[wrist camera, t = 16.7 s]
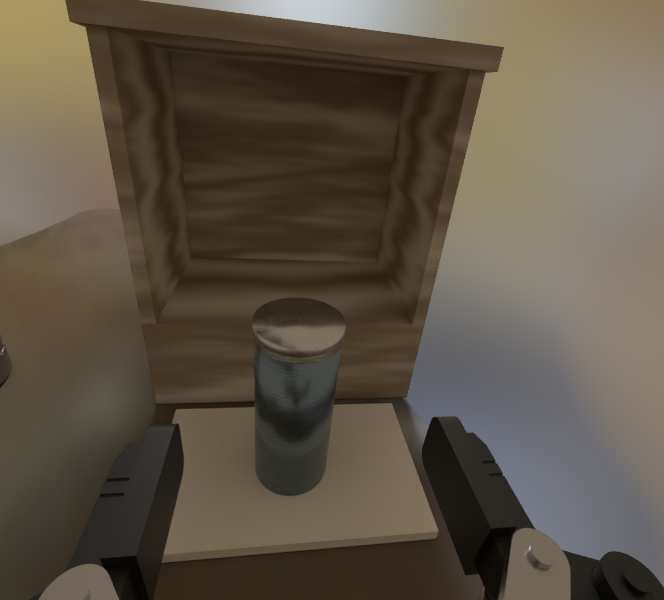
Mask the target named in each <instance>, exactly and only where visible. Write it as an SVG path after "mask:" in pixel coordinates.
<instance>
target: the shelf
mask: <svg viewBox="0 0 664 600" xmlns="http://www.w3.org/2000/svg"><path fill="white" fill-rule="evenodd" d="M65 1H66V5H67V10H68V15H69V20H70V22H73V23H76V24H79V25H82V26H85V27H86V31H87V36H88V41H89V47H90V52H91V57H92V63H93V68H94V73H95V79H96V83H97V89H98V94H99V100H100V105H101V111H102V116H103V121H104V126H105V132H106V137H107V143H108V147H109V153H110V159H111V164H112V169H113V175H114V180H115V185H116V190H117V195H118V201H119V206H120V212H121V217H122V223H123V228H124V233H125V239H126V244H127V249H128V255H129V260H130V265H131V271H132V276H133V281H134V287H135V292H136V297H137V303H138V308H139V313H140V318H141V324H142V329H143V334H144V340H145V345H146V350H147V356H148V361H149V366H150V372H151V377H152V382H153V388H154V393H155V398H156V404H168V403H206V402H244V401H255V397H254V342H253V339H252V317H253V314H254V313H255V311H256V310H257V309H258V308H259V307H261V306H262V305H264V304H266V303H268V302H271V301H274V300H278V299H283V298H295V297H296V298H309V299H314V300H318V301H322V302H324V303H327V304H329V305H331V306H333V307H334V308H336V309H337V310H338V311H339V312H340V313H341V314H342V315H343V316H344V318H345V321H346V328H345V335H344V342H343V345H342V347H341V353H340V361H339V368H338V376H337V384H336V392H335V399H358V398H396V397H407V394H408V390H409V385H410V381H411V377H412V373H413V369H414V365H415V361H416V357H417V352H418V348H419V344H420V340H421V336H422V332H423V328H424V324H425V319H426V315H427V311H428V307H429V303H430V299H431V294H432V291H433V286H434V282H435V278H436V274H437V270H438V266H439V262H440V258H441V253H442V249H443V245H444V241H445V237H446V233H447V228H448V225H449V220H450V216H451V212H452V208H453V204H454V200H455V196H456V191H457V187H458V183H459V179H460V175H461V171H462V166H463V162H464V159H465V154H466V150H467V146H468V142H469V138H470V133H471V130H472V126H473V122H474V117H475V113H476V109H477V105H478V101H479V97H480V93H481V88H482V84H483V80H484V76H485V73H490V72H497V71H498V69H499V64H500V61H501V57H502V53H503V49H504V47H498V46H489V45H482V44H474V43H466V42H459V41H451V40H444V39H436V38H428V37H420V36H412V35H405V34H396V33H389V32H381V31H374V30H366V29H358V28H351V27H343V26H335V25H327V24H320V23H312V22H304V21H296V20H288V19H281V18H273V17H265V16H257V15H250V14H242V13H234V12H225V11H219V10H210V9H203V8H195V7H188V6H180V5H171V4H164V3H156V2H149V1H141V0H65Z"/></svg>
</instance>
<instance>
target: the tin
mask: <svg viewBox="0 0 664 600" xmlns="http://www.w3.org/2000/svg"><path fill="white" fill-rule="evenodd" d="M345 328H346V321H345V318H344V316H343V315H342V314H341V313H340V312H339V311H338V310H337V309H336V308H334V307H333V306H331V305H329V304H327V303H324V302H322V301H318V300H314V299H309V298H296V297H295V298H283V299H278V300H274V301H271V302H268V303H266V304H264V305H262V306H261V307H259V308H258V309H257V310H256V311H255V313H254V314H253V317H252V339H253V342H254V397H255V470H256V474H257V477H258V479H259V481H260V482H261V483H262V485H263V486H264V487H265V488H267V489H268V490H270V491H271V492H273V493H276V494H279V495H283V496H296V495H301V494H304V493H306V492H308V491H310V490H312V489H313V488H314V487H316V486H317V485H318V484H319V482H320V481H321V480H322V478H323V476H324V473H325V469H326V463H327V455H328V447H329V439H330V431H331V423H332V415H333V408H334V400H335V392H336V384H337V376H338V368H339V361H340V353H341V347H342V345H343V342H344V335H345Z"/></svg>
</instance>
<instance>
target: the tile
mask: <svg viewBox="0 0 664 600" xmlns="http://www.w3.org/2000/svg"><path fill="white" fill-rule="evenodd" d="M175 423H178V424H179V427H180V433H181V440H182V447H183V453H184V469H183V476H182V481H181V485H180V489H179V493H178V497H177V501H176V505H175V509H174V513H173V518H172V522H171V526H170V530H169V534H168V538H167V542H166V546H165V550H164V555H163V559H162V563H165V562H176V561H188V560H199V559H210V558H222V557H233V556H245V555H256V554H267V553H279V552H290V551H301V550H313V549H324V548H335V547H347V546H358V545H370V544H381V543H392V542H404V541H415V540H426V539H436V537H437V534H438V532H439V531H438V528H437V525H436V523H435V520H434V517H433V514H432V512H431V509H430V506H429V504H428V501H427V498H426V495H425V493H424V490H423V487H422V484H421V482H420V479H419V476H418V474H417V471H416V468H415V465H414V463H413V460H412V457H411V454H410V452H409V449H408V446H407V444H406V441H405V438H404V435H403V433H402V430H401V427H400V424H399V422H398V419H397V416H396V414H395V411H394V408H393V405H392V403H379V404H344V405H334V408H333V415H332V423H331V431H330V439H329V447H328V455H327V463H326V469H325V473H324V476H323V478H322V480H321V481H320V482H319V484H318V485H317V486H316V487H314V488H313V489H312V490H310V491H308V492H306V493H304V494H301V495H296V496H283V495H279V494H276V493H273V492H271V491H270V490H268V489H267V488H265V487H264V486H263V485H262V483H261V482H260V481H259V479H258V477H257V474H256V470H255V407H239V408H204V409H176V411H175V415H174V418H173V421H172V424H175Z"/></svg>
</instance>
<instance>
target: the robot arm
mask: <svg viewBox="0 0 664 600" xmlns="http://www.w3.org/2000/svg"><path fill="white" fill-rule="evenodd" d="M11 367H12V365H11V360H10V358H9V355H8V353H7V350H6V346H5V344H4V341H3V340H2V338H1V336H0V385H1V384H2V383H3V382H4V381H5V379H6V378H7V376H8V375H9V373H10V371H11ZM422 460H423V465H424V468H425V470H426V473H427V476H428V478H429V481H430V484H431V486H432V489H433V491H434V494H435V497H436V499H437V502H438V504H439V507H440V510H441V512H442V515H443V518H444V520H445V523H446V525H447V528H448V531H449V533H450V536H451V539H452V541H453V544H454V546H455V549H456V552H457V554H458V557H459V559H460V562H461V565H462V567H463V570H464V573H465V575H472V574H479V575H480V577H481V580H482V582H483V586H482V589H481V593H480V598H479V600H664V587H663V586H662V585H661V583H660V582H659V581H658V579H657V578H656V577H655V575H654V574H653V573H652V572H651V571H650V570H649V569H648V568H646V567H645V566H644V565H643V564H642V563H641V562H639V561H638V560H636V559H635V558H633V557H631V556H629V555H627V554H624V553H621V552H615V551H613V552H608V553H606V554H605V555H604V556H603V557H602V558H601V560H600V561H599V560H595V559H592V558H588V557H585V556H581V555H577V554H574V553H570V552H567V551H564V550H562V549H561V548H560V547H559V546H558V545H557V543H556V542H555V541H553V540H552V539H551V538H550V537H549V536H547V535H546V534H544V533H542V532H540V531H538V530H536V529H535V528H534V526H533V525H532V523H531V521H530V520H529V518H528V516H527V515H526V513H525V511H524V510H523V508H522V506H521V504H520V502H519V501H518V499H517V497H516V496H515V494H514V492H513V490H512V489H511V487H510V485H509V484H508V482H507V480H506V478H505V477H504V476H503V475H502V471H501V470H500V468H499V466H498V464H496V463H495V459H494V457H493V456H492V454H491V452H490V450H489V449H488V447H487V445H486V444H484V442H482V441H481V440H480V439H479V438H478V437H477V436H476V435H475V434H474V433H466V431H465V429H464V427H463V425H462V423H461V422H460V420H459V419H458V418H457V417H455V416H454V417H433V418H432V420H431V422H430V425H429V428H428V431H427V435H426V438H425V441H424V444H423V447H422ZM183 469H184V453H183V447H182V440H181V433H180V427H179V424H178V423H175V424H151V425H150V427H149V429H148V431H147V434H146V436H145V439H144V442H143V444H129V445H128V446H127V447H126V448H125V449H124V451H123V452H122V453H121V454H120V455H119V456H118V457H117V458H116V459H115V461H114V463H113V465H112V468H111V470H110V472H109V475H108V477H107V481H106V482H105V484H104V486H103V488H102V491H101V493H100V497H99V498H98V500H97V502H96V504H95V507H94V509H93V511H92V514H91V516H90V518H89V521H88V523H87V525H86V528H85V530H84V532H83V534H82V537H81V539H80V541H79V544H78V546H77V548H76V551H75V553H74V555H73V557H72V559H71V561H70V563H69V565H68V566H67V568H66V569H65V571H64V572H63V573H62V574H61V575H60V576H59V577H57V578H56V579H55V580H54V581H53V582H52V583H51V584H50V585H49V586H48V587H47V588H46V590H44V591H43V592H41V593H40V594H38V595H37V596H35V597H33V598H32V599H30V600H153V596H154V592H155V588H156V583H157V579H158V575H159V571H160V567H161V563H162V559H163V555H164V550H165V546H166V542H167V538H168V534H169V530H170V526H171V522H172V518H173V513H174V509H175V505H176V501H177V497H178V493H179V489H180V485H181V481H182V476H183Z"/></svg>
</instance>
